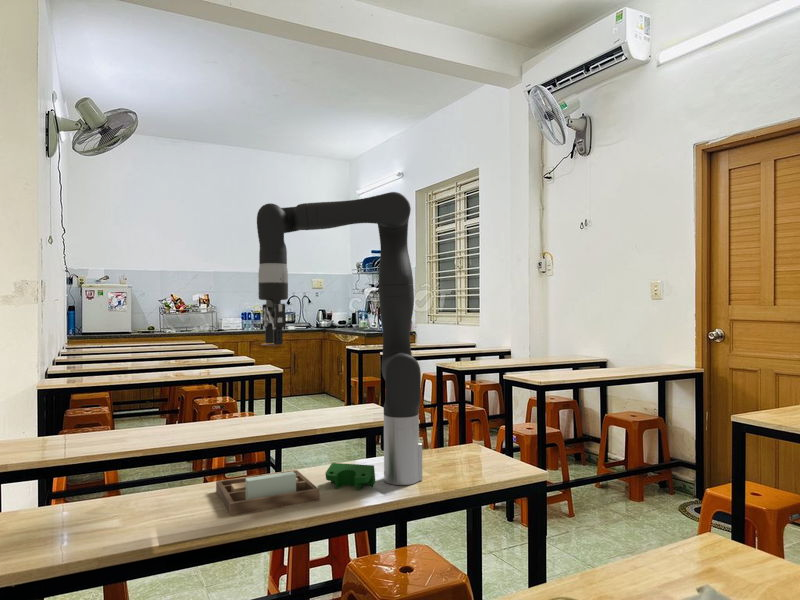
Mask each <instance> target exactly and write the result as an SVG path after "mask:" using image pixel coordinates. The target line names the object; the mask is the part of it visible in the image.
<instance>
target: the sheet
mask: <svg viewBox="0 0 800 600" xmlns="http://www.w3.org/2000/svg"><path fill="white" fill-rule="evenodd" d="M290 471H291V470H290ZM245 485H246V500H248V499H254V498H261V497H267V496H273V495H279V494H285V493H291V492H296V473H294V472H293V471H291V472H285V473H278V474H271V475H265V476H258V477H251V478H245Z"/></svg>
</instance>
